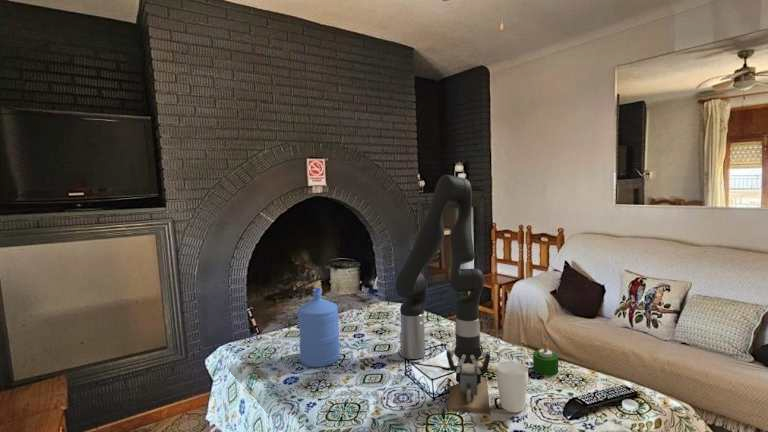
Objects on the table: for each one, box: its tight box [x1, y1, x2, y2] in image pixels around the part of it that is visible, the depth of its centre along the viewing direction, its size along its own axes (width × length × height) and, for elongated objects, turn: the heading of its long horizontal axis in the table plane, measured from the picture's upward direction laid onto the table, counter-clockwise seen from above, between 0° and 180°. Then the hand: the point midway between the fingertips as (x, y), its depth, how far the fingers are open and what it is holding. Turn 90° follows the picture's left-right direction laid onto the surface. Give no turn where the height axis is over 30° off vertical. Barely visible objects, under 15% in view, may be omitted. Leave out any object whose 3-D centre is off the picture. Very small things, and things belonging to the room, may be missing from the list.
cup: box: [496, 360, 529, 414], centre depth 115 cm, size 9×9×12 cm
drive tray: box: [447, 376, 491, 414], centre depth 123 cm, size 12×19×5 cm, turn 168°
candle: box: [532, 342, 559, 377], centre depth 137 cm, size 8×8×10 cm
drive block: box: [460, 363, 477, 395], centre depth 123 cm, size 5×10×6 cm, turn 169°
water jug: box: [297, 287, 341, 368], centre depth 151 cm, size 16×16×28 cm
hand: (468, 383), depth 123 cm, fingers closed on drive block, 5 cm apart
